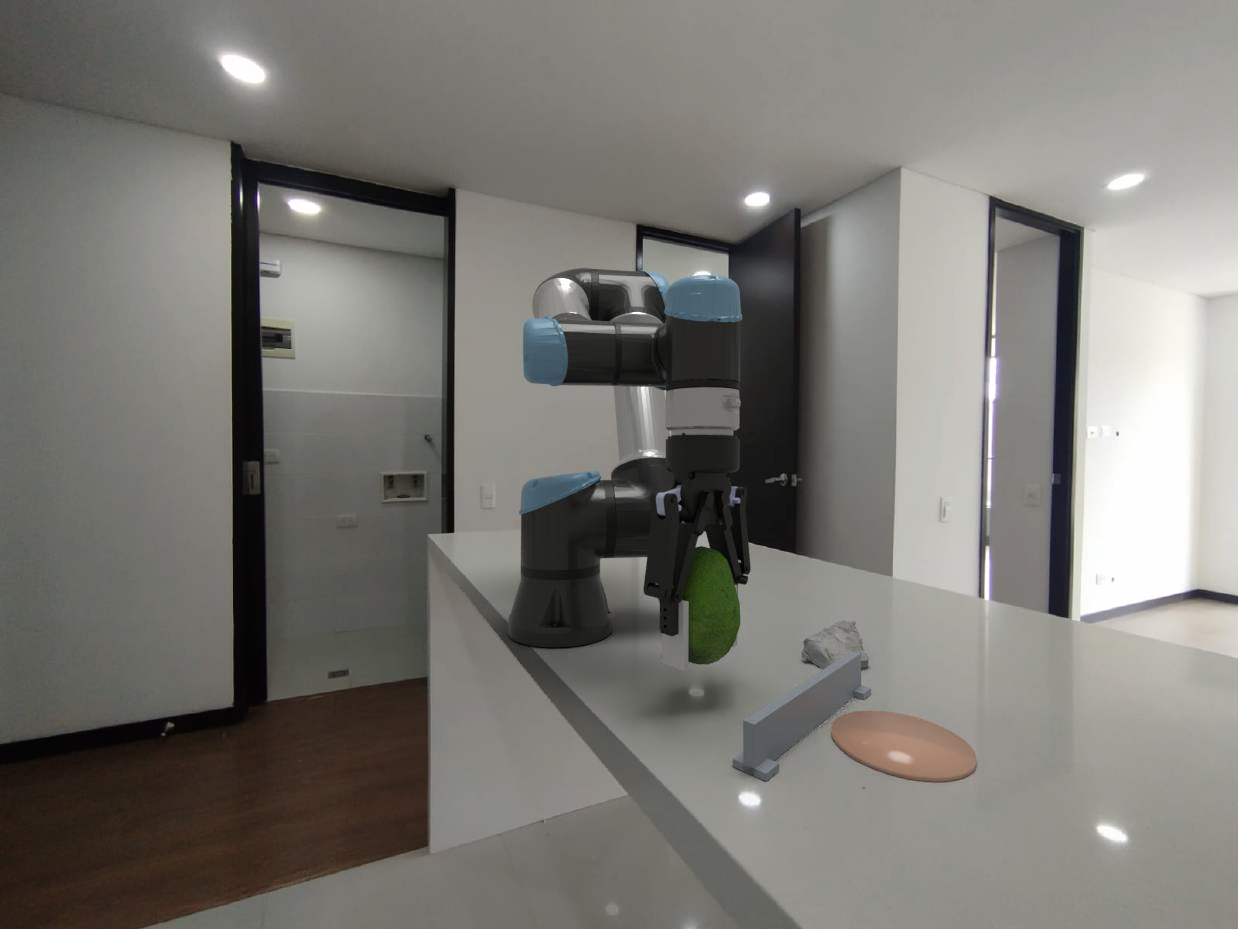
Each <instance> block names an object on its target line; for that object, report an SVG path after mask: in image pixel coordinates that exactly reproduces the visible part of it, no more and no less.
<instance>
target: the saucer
mask: <svg viewBox="0 0 1238 929" xmlns="http://www.w3.org/2000/svg"><path fill="white" fill-rule="evenodd" d="M830 730H831V731H830V732H831V738H832V740H833V742H834V743H835V745H836V746H837V747H838V749H840V750H841V751H842V752H843V753H844V754H846V755H847V756H849V757H850V758H852V759H853V760H855V761H856V762H858V763H859V764H860V763H861V764H862V765H865V766H866V767H868V768H871V769H873V770H876V771H879V772H882V773H884V774H888V775H890V776H891V775H892V776H894V777H895V776H896V777H899V778H904V779H907V780H915V781H919V782H920V781H923V782H937V783H938V782H952V781H958V780H961V779H964V778H966V777H968V776H970V775H971V774H973V772H974V771H975V769H976V768H977V767H976V766H977V755H976V752H975V750H974V749H973V747H972V746H971V745H970V744H969V743H968V742H967V741H966V740H964V738H962V737H961V736H960V735H958V734H956V733H955V732H953V731H951V730H949V729H948V728H945V727H944V726H941V725H939V724H936V723H934V722H933V721H928V720H926V719H922V718H921V717H915V716H912V715H908V714H904V713H898V712H894V711H893V712H892V711H886V710H885V711H883V710H858V711H851V712H848V713H845V714H842V715H840V716H838V717H837V718H835V720H833V721H832V724H831V729H830Z"/></svg>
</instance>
